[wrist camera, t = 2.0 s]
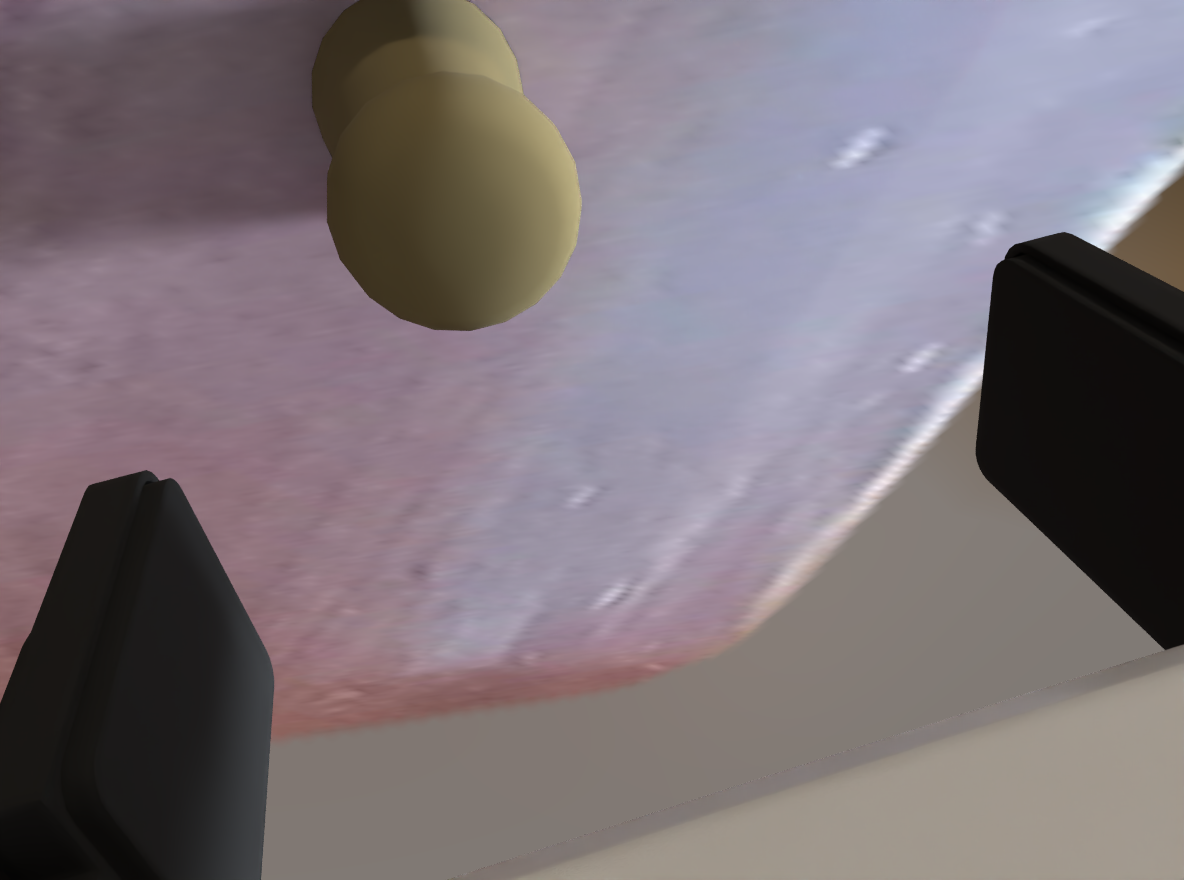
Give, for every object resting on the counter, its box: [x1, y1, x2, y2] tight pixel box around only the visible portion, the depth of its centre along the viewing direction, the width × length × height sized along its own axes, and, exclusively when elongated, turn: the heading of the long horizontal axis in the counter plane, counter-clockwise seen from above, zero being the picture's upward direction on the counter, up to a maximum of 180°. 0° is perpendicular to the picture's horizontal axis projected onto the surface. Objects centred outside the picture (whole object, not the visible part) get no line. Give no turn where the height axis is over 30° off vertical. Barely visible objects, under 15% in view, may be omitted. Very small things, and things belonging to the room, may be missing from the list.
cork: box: [312, 0, 581, 331], centre depth 22 cm, size 6×6×11 cm
